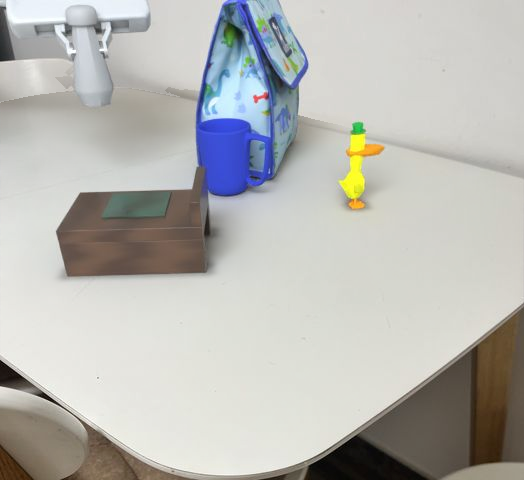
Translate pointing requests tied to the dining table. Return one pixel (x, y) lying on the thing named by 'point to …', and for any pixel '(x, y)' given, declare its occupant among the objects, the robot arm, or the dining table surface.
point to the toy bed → (137, 231)
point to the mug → (229, 154)
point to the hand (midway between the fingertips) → (88, 57)
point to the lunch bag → (254, 77)
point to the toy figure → (357, 164)
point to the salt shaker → (88, 58)
